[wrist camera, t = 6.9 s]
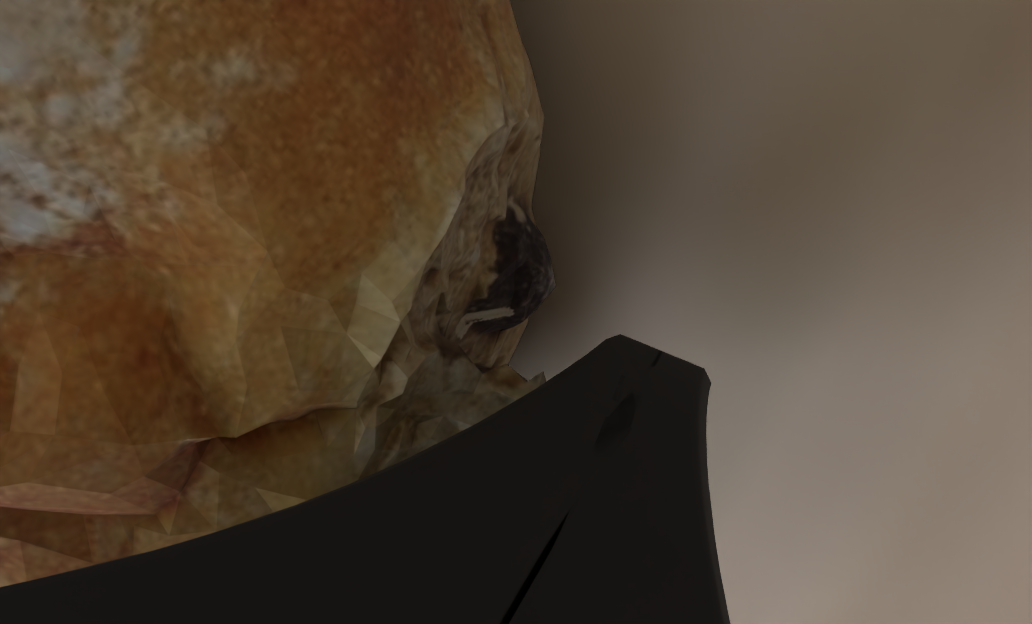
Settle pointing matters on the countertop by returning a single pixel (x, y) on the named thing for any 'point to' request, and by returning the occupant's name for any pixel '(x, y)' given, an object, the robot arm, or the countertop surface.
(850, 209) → the countertop surface
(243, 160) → the bread roll
